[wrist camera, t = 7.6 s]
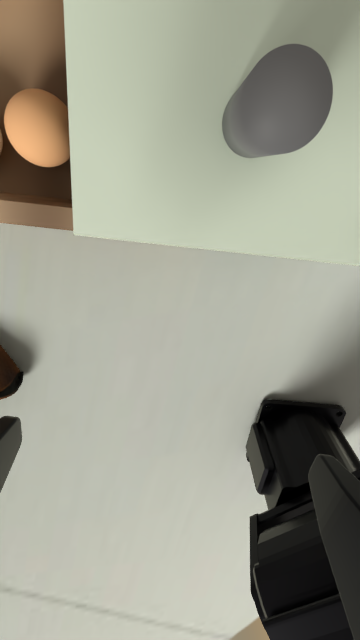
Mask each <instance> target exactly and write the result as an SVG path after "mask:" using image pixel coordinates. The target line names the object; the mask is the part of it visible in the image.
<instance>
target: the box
mask: <svg viewBox="0 0 360 640" xmlns="http://www.w3.org/2000/svg"><path fill="white" fill-rule="evenodd" d="M32 88H33V89H41V90H44V91H47V92H49V93H51V94H53V95H55V96H56V97H57V98H59V99H60V100H61V101H62V102H63V103H64V104H65V105H66V106H67V108H68V95H67V73H66V50H65V27H64V4H63V0H0V129H1V133H2V138H3V147H2V152H1V155H0V223H8V224H17V225H26V226H35V227H44V228H53V229H63V230H72V231H73V210H72V187H71V164H70V158H69V159H68V160H67V161H66V162H65V163H63V164H61V165H59V166H55V167H42V166H38V165H35V164H33V163H31V162H29V161H28V160H26V159H25V158H23V157H22V156H21V155H20V154H19V153H18V152H17V151H16V150H15V148H14V147H13V146H12V144H11V142H10V141H9V139H8V136H7V133H6V130H5V125H4V114H5V109H6V106H7V104H8V102H9V100H10V99H11V98H12V97H13V96H14V95H15V94H16V93H18V92H20V91H22V90H25V89H32Z"/></svg>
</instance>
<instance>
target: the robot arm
mask: <svg viewBox="0 0 360 640" xmlns="http://www.w3.org/2000/svg"><path fill="white" fill-rule="evenodd" d="M266 406H269V407H266ZM337 412H338V413H337ZM345 415H346V412H345V410H344V408H343V407H342V406H339V405H328V404H316V403H304V402H292V401H280V400H264V401H263V402H262V403H261V405H260V409H259V412H258V416H257V419H256V422H255V423H254V424H253V425H252V427H251V430H250V434H249V437H248V441H247V444H246V449H247V453H246V457H247V461H248V462H250V466H251V470H252V474H253V478H254V482H255V487H256V490H257V492H258V493H259V494H262V495H265V499H266V503H267V506H268V510H267V511H265V512H263V513H261V514H255V515H253V516H250V579H251V594H252V597H253V599H254V602H255V605H256V608H257V611H258V614H259V617H260V619H261V621H262V624H263V626H264V628H265V630H266V632H267V634H268V636H269V638H270V640H360V461H359V459H358V457H357V456H356V454H355V453H354V451H353V449H352V448H351V446H350V444H349V443H348V441H347V440H346V438H345V436H344V435H343V433H342V432H341V430H340V425H341V423H342V421H343V419H344V417H345ZM21 442H22V432H21V421H20V419H19V418H18V417H12V416H4V417H2V418H0V492H1V490H2V488H3V485H4V483H5V481H6V478H7V476H8V474H9V471H10V469H11V467H12V464H13V462H14V460H15V457H16V455H17V453H18V450H19V448H20V445H21Z"/></svg>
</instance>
